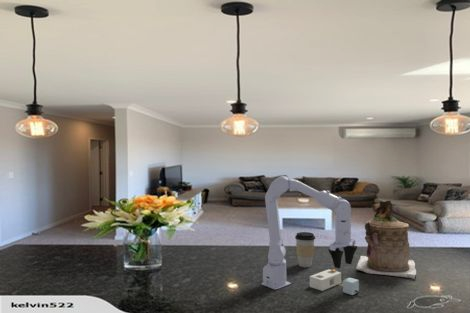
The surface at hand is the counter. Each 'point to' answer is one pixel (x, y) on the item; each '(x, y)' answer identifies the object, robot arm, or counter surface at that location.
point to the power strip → (325, 279)
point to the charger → (351, 286)
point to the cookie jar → (387, 245)
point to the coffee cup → (305, 248)
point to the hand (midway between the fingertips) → (343, 265)
